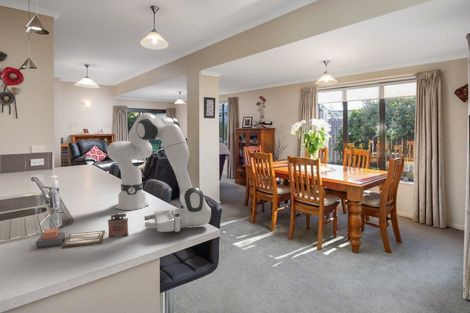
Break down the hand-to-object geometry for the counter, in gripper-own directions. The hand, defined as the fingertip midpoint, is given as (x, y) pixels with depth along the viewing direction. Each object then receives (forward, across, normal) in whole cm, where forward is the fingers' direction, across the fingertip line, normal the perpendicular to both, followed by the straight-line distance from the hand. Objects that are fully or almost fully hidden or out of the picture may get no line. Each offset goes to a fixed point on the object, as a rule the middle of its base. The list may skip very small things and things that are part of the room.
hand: (144, 221), depth 124 cm
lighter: (+11, 0, +6) cm, 12 cm away
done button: (+36, 0, +3) cm, 36 cm away
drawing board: (+24, 0, +5) cm, 25 cm away
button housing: (+36, 0, +5) cm, 36 cm away
